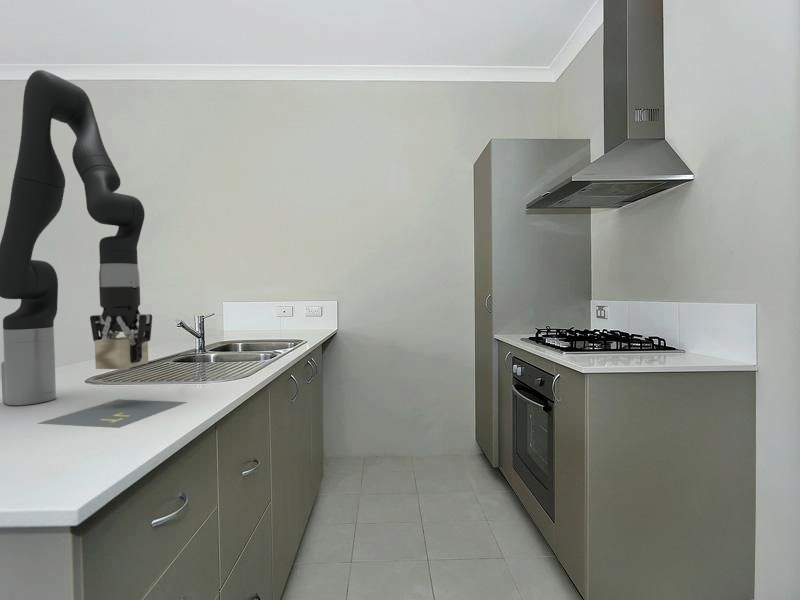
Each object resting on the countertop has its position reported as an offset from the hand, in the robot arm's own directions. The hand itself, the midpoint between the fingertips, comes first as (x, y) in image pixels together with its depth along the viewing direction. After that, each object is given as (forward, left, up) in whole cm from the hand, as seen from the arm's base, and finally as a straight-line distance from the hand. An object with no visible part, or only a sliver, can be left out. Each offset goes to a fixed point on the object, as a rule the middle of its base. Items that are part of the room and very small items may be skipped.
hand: (122, 361), depth 99 cm
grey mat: (+4, -6, -10) cm, 12 cm away
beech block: (0, 0, -1) cm, 1 cm away
